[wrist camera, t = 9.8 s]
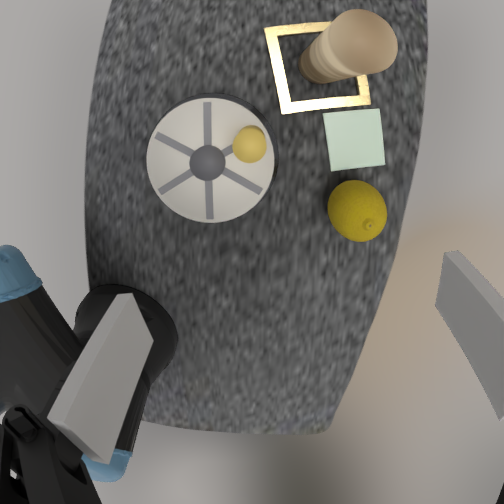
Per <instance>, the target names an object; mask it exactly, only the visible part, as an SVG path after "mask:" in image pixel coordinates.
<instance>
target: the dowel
mask: <svg viewBox="0 0 504 504" xmlns="http://www.w3.org/2000/svg"><path fill="white" fill-rule="evenodd" d="M397 49H398V47H397V40H396V36H395V34H394V32H393V30H392V28H391V27H390V26H389V24H388V23H387V22H386V21H385V20H384V19H383V18H381V17H380V16H378V15H377V14H375V13H373V12H370V11H367V10H362V9H353V10H349V11H346V12H344V13H342V14H340V15H339V16H338V17H337V18H336V19H335V20H334V21H333V22H332V23H331V24H330V25H329V26H328V27H327V28H326V29H325V30H324V31H323V32H322V33H321V34H320V35H319V36H318V37H317V38H316V39H315V40H314V41H313V42H312V43H311V44H310V45H309V46H308V47H307V48H306V49H305V50H304V52H303V53H302V54H301V55H300V57H299V60H298V68H299V71H300V73H301V74H302V76H303V77H304V78H305V79H306V80H308V81H309V82H312V83H314V84H325V83H330V82H334V81H338V80H342V79H347V78H352V77H356V76H361V75H366V74H371V73H377V72H381V71H383V70H385V69H387V68H388V67H389V66H390V65H391V64H392V63H393V62H394V60H395V58H396V55H397Z"/></svg>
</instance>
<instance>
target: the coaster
mask: <svg viewBox="0 0 504 504" xmlns="http://www.w3.org/2000/svg"><path fill="white" fill-rule="evenodd" d="M322 115H323V121H324V127H325V134H326V141H327V148H328V155H329V163H330V171H338V170H345V169H353V168H361V167H369V166H378V165H385V158H384V146H383V136H382V127H381V118H380V110H379V109H364V110H351V111H340V112H330V113H322Z"/></svg>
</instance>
